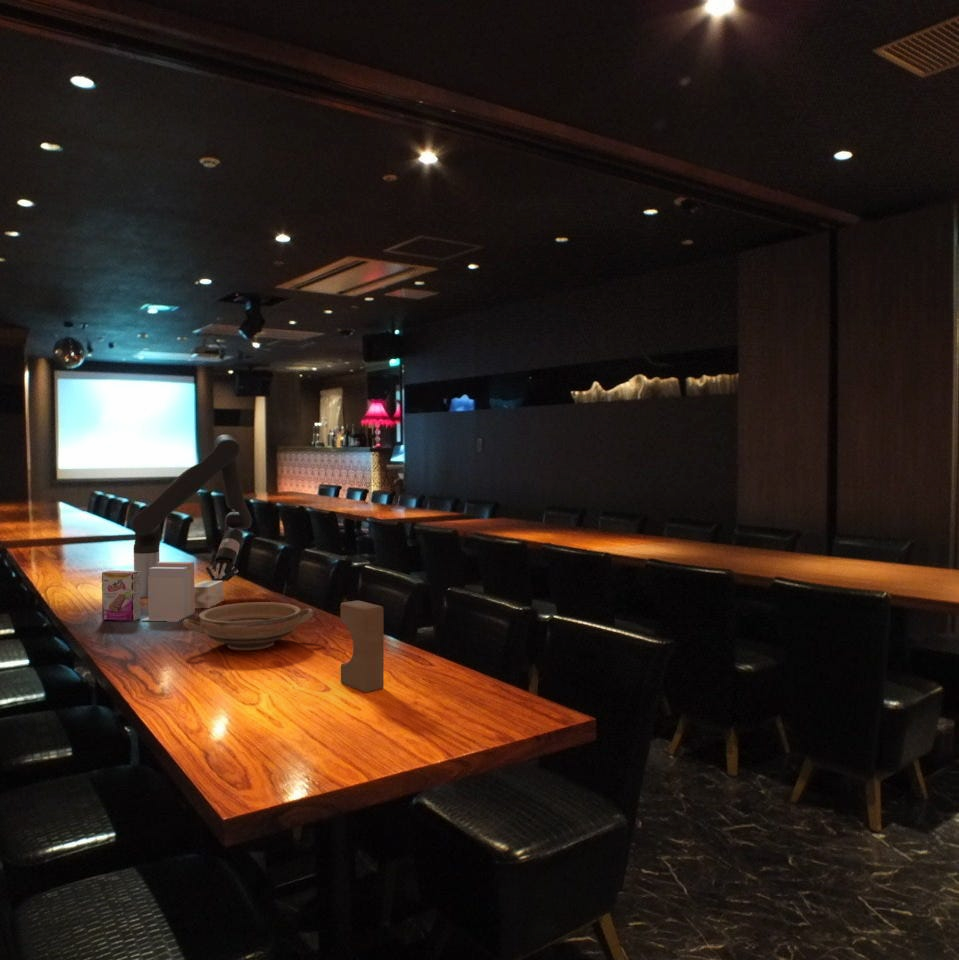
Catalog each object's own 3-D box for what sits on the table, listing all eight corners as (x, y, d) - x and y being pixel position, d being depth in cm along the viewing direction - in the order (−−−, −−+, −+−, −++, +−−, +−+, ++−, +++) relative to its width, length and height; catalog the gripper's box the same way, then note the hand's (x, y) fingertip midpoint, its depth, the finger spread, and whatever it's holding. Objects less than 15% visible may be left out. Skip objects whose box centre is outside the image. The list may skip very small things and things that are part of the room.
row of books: (141, 621, 262) (141, 567, 261) (161, 612, 276) (160, 561, 275) (176, 622, 261) (176, 568, 260) (194, 613, 275) (194, 562, 274)
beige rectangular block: (189, 609, 283) (188, 587, 283) (204, 601, 297) (204, 580, 297) (208, 609, 283) (207, 587, 283) (223, 601, 297) (222, 580, 297)
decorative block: (339, 683, 194) (339, 602, 193) (359, 678, 198) (359, 599, 197) (364, 693, 186) (364, 609, 185) (384, 688, 189) (384, 606, 189)
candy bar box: (101, 621, 262) (100, 572, 262) (109, 618, 267) (109, 570, 267) (133, 622, 261) (132, 572, 261) (141, 618, 266) (140, 570, 266)
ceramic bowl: (189, 664, 210) (188, 627, 210) (178, 641, 236) (178, 608, 235) (325, 649, 226) (325, 615, 226) (301, 629, 252) (301, 598, 252)
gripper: (208, 546, 308) (196, 582, 297) (241, 546, 308) (230, 583, 296) (214, 558, 314) (201, 594, 302) (246, 558, 313) (235, 594, 301)
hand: (216, 588), depth 299 cm, fingers closed
